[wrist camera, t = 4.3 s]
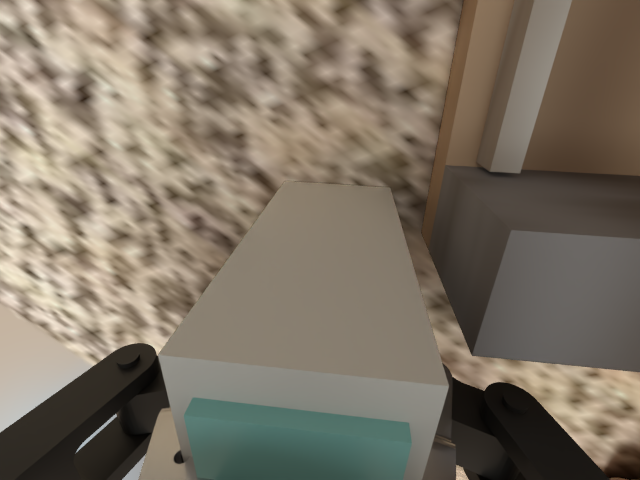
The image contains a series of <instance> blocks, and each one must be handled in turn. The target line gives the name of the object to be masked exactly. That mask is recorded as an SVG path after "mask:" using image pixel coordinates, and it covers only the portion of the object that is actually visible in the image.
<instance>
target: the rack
mask: <svg viewBox="0 0 640 480" xmlns="http://www.w3.org/2000/svg"><path fill="white" fill-rule="evenodd" d="M421 233H422V235H423V238H424V240H425V243H426V245H427V248H428V250H429V252H430V255H431V257H432V260H433V262H434V265H435V267H436V269H437V272H438V274H439V277H440V279H441V282H442V284H443V286H444V289H445V291H446V294H447V296H448V299H449V301H450V303H451V306H452V308H453V311H454V313H455V316H456V318H457V321H458V323H459V325H460V328H461V330H462V333H463V335H464V338H465V340H466V342H467V345H468V347H469V350H470V352H471V355H472V356H481V357H491V358H501V359H511V360H522V361H532V362H542V363H552V364H562V365H572V366H582V367H592V368H602V369H613V370H623V371H633V372H640V0H464V2H463V7H462V12H461V18H460V23H459V29H458V34H457V40H456V45H455V51H454V56H453V62H452V67H451V73H450V78H449V83H448V89H447V94H446V100H445V105H444V111H443V116H442V122H441V127H440V133H439V138H438V144H437V149H436V154H435V160H434V165H433V171H432V176H431V182H430V187H429V193H428V198H427V204H426V209H425V215H424V220H423V225H422V231H421Z"/></svg>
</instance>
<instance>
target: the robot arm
mask: <svg viewBox="0 0 640 480" xmlns="http://www.w3.org/2000/svg"><path fill="white" fill-rule="evenodd" d="M442 364H443V363H442ZM443 367H444V371H445V374H446V378H447V381H448V384H449V388H448V392H447V395H446V399H445V402H444V406H443V409H442V412H441V416H440V419H439V423H438V426H437V430H436V433H435V436H434V440H433V443H432V447H431V450H430V454H429V457H428V461H427V464H426V467H425V471H424V474H423V478H422V480H456V465H459V466H461V467H463V469H464V471H465V473H466V475H467V477H468V479H469V480H610V479H609V478H608V477H607V476H606V475H605V474H604V472H603V471H602V470H601V469H600V468H599V467H598V466H597V465H596V464H595V463H594V462H593V461H592V459H591V458H590V457H589V456H588V455H587V454H586V453H585V452H584V451H583V450H582V449H581V448H580V447H579V445H578V444H577V443H576V442H575V441H574V440H573V439H572V438H571V437H570V436H569V435H568V434H567V432H566V431H565V430H564V429H563V428H562V427H561V426H560V425H559V424H558V423H557V422H556V421H555V419H554V418H553V417H552V416H551V415H550V414H549V413H548V412H547V411H546V410H545V409H544V408H543V407H542V405H541V404H540V403H539V402H538V401H537V400H536V399H535V398H534V397H533V396H532V395H530V394H529V393H528V392H526V391H525V390H523V389H521V388H520V387H517V386H515V385H512V384H509V383H503V382H497V383H493V384H490V385H489V386H488V387H487V388H486V390H485V391H483V390H480V389H477V388H475V387H472V386H469V385H466V384H464V383H462V382H460V381H458V380H456V379H455V378H453V377H452V375H451V372H450V371H449V369H448V368H447V367H446V366H445V365H444V364H443ZM115 414H117V417H116V418H115V419H114V420H113V421H112V422H110V423H109V424H108V425H107V426H106V427H105V428H104V429H103V430H101V431H100V432H99V433H98V434H97V435H96V436H95V437H94V438H92V439H91V440H90V441H89V442H88V443H87V444H86V445H85V446H83V447H82V448H81V449H80V450H79V451H78V452H77V453H76V451H77V449H78V448H79V446H80V445H81V444H82V443H83V442H84V441H85V440H86V439H87V438H88V437H90V436H91V435H92V434H93V433H94V432H95V431H96V430H97V429H99V428H100V427H101V426H102V425H103V424H104V423H105V422H107V421H108V420H109V419H110V418H111V417H112V416H113V415H115ZM75 453H76V454H75ZM145 454H146V456H145V460H144V463H143V466H142V469H141V473H140V476H139V479H138V480H213V479H206V478H198V477H197V475H196V470H195V466H194V461H193V457H190V456H189V457H188V459H187V460H186V461H185V462H184V461H183V457H182V453H181V449H180V444H179V440H178V436H177V432H176V428H175V424H174V419H173V415H172V411H171V407H170V403H169V399H168V395H167V390H166V386H165V382H164V378H163V374H162V370H161V365H160V361H159V357H158V356H157V355H156V351H155V349H154V348H153V347H152V346H150V345H148V344H143V343H137V344H131V345H127V346H124V347H122V348H120V349H118V350H116V351H114V352H113V353H111V354H110V355H109V356H107V357H106V358H104V359H103V360H102V361H100V362H99V363H97V364H96V365H95V366H93V367H92V368H90V369H89V370H88V371H87V372H85V373H83V374H82V375H81V376H79V377H78V378H76V379H75V380H74V381H72V382H71V383H69V384H68V385H67V386H65V387H64V388H62V389H61V390H60V391H58V392H57V393H55V394H54V395H53V396H51V397H50V398H48V399H47V400H45V401H44V402H43V403H41V404H40V405H38V406H37V407H36V408H34V409H33V410H31V411H30V412H29V413H27V414H26V415H24V416H23V417H22V418H20V419H19V420H17V421H16V422H15V423H13V424H12V425H10V426H9V427H8V428H6V429H5V430H4V431H2V432H1V433H0V480H122V479H123V478H124V477H125V476H126V475H127V473H128V472H129V471H130V470H131V469H132V468H133V467H134V466H135V465H136V464H137V462H139V461H140V459H141V458H142V457H143V456H144V455H145Z"/></svg>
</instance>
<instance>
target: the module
mask: <svg viewBox="0 0 640 480" xmlns="http://www.w3.org/2000/svg"><path fill="white" fill-rule="evenodd" d="M158 357H159V361H160V365H161V370H162V374H163V378H164V382H165V386H166V390H167V395H168V399H169V403H170V407H171V411H172V415H173V419H174V424H175V428H176V432H177V436H178V440H179V444H180V449H181V453H182V457H183V461H184V462H185V461H186V460H187V459H188V457H189V456H190V457H193V461H194V466H195V470H196V475H197V477H198V478H206V479H213V480H422V478H423V474H424V471H425V467H426V464H427V461H428V457H429V454H430V450H431V447H432V443H433V440H434V436H435V433H436V430H437V426H438V423H439V419H440V416H441V412H442V409H443V406H444V402H445V399H446V395H447V392H448V388H449V384H448V381H447V378H446V374H445V371H444V367H443V364H442V361H441V357H440V354H439V351H438V347H437V344H436V340H435V337H434V334H433V330H432V327H431V324H430V320H429V317H428V313H427V310H426V307H425V303H424V300H423V297H422V293H421V290H420V286H419V283H418V280H417V276H416V273H415V270H414V266H413V263H412V259H411V256H410V253H409V249H408V246H407V243H406V239H405V236H404V232H403V229H402V226H401V222H400V219H399V216H398V212H397V209H396V205H395V202H394V199H393V195H392V192H391V189H390V187H376V186H360V185H344V184H328V183H312V182H296V181H284V183H283V184H282V185H281V187H280V188H279V190H278V191H277V192H276V194H275V195H274V196H273V198H272V199H271V201H270V202H269V203H268V205H267V206H266V207H265V209H264V210H263V211H262V213H261V214H260V216H259V217H258V218H257V220H256V221H255V222H254V224H253V225H252V227H251V228H250V229H249V231H248V232H247V233H246V235H245V236H244V238H243V239H242V240H241V242H240V243H239V244H238V246H237V247H236V249H235V250H234V251H233V253H232V254H231V255H230V257H229V258H228V259H227V261H226V262H225V264H224V265H223V266H222V268H221V269H220V270H219V272H218V273H217V275H216V276H215V277H214V279H213V280H212V281H211V283H210V284H209V286H208V287H207V288H206V290H205V291H204V292H203V294H202V295H201V296H200V298H199V299H198V301H197V302H196V303H195V305H194V306H193V307H192V309H191V310H190V312H189V313H188V314H187V316H186V317H185V318H184V320H183V321H182V323H181V324H180V325H179V327H178V328H177V329H176V331H175V332H174V334H173V335H172V336H171V338H170V339H169V340H168V342H167V343H166V344H165V346H164V347H163V349H162V350H161V351H160V353H159V354H158Z"/></svg>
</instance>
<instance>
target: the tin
mask: <svg viewBox="0 0 640 480" xmlns="http://www.w3.org/2000/svg"><path fill="white" fill-rule="evenodd" d="M609 479H610V480H627V479H623V478H609ZM633 480H640V479H633Z"/></svg>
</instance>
